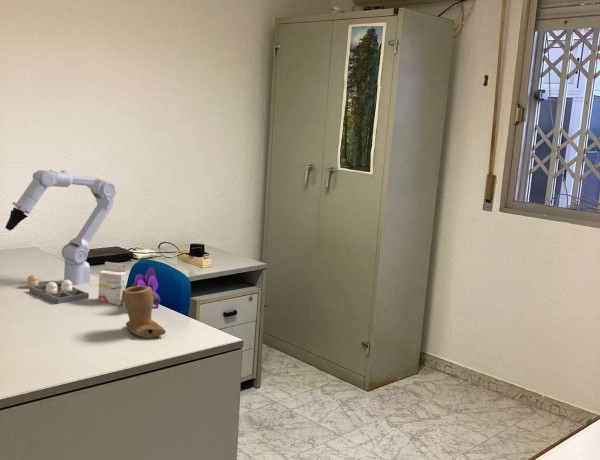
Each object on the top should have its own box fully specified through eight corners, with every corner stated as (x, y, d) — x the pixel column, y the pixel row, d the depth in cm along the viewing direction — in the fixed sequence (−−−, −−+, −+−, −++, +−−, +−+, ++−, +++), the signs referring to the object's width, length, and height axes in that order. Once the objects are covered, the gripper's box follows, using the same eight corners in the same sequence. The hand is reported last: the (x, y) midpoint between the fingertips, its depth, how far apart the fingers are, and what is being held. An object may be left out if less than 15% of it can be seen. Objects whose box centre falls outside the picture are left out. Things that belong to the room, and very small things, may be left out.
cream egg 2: (68, 292, 248) (68, 278, 247) (74, 294, 246) (74, 280, 245) (58, 293, 245) (59, 279, 244) (64, 296, 242) (64, 281, 242)
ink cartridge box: (97, 303, 239) (98, 263, 237) (102, 299, 244) (104, 261, 242) (119, 305, 239) (121, 266, 236) (124, 302, 244) (126, 263, 241)
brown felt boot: (116, 326, 216) (118, 282, 213) (151, 323, 222) (154, 280, 220) (129, 341, 203) (132, 295, 201) (166, 338, 209) (169, 292, 207)
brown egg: (35, 286, 253) (35, 273, 252) (40, 289, 250) (40, 275, 250) (25, 288, 250) (25, 274, 249) (30, 290, 247) (30, 276, 246)
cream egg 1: (53, 294, 243) (53, 280, 242) (59, 296, 241) (59, 282, 240) (43, 295, 240) (43, 281, 239) (49, 298, 238) (49, 283, 237)
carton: (61, 288, 254) (61, 282, 253) (88, 299, 242) (88, 293, 242) (29, 293, 244) (29, 286, 244) (56, 305, 232) (56, 298, 232)
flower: (118, 323, 234) (148, 312, 229) (103, 285, 234) (132, 273, 230) (140, 313, 248) (169, 303, 243) (126, 277, 248) (154, 265, 243)
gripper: (18, 193, 246) (-3, 224, 242) (22, 189, 234) (-1, 221, 230) (35, 204, 249) (14, 234, 245) (39, 200, 236) (18, 232, 232)
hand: (8, 228), depth 238 cm, fingers open, 7 cm apart
